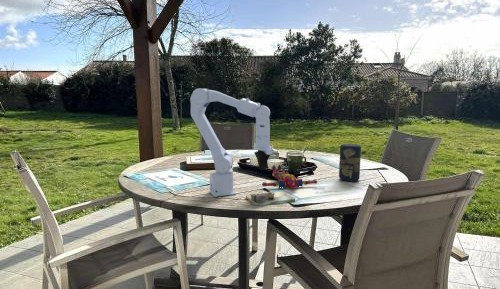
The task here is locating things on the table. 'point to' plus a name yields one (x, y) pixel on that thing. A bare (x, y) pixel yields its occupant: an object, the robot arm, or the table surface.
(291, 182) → the toy
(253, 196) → the swing latch
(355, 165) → the canister
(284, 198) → the door board
